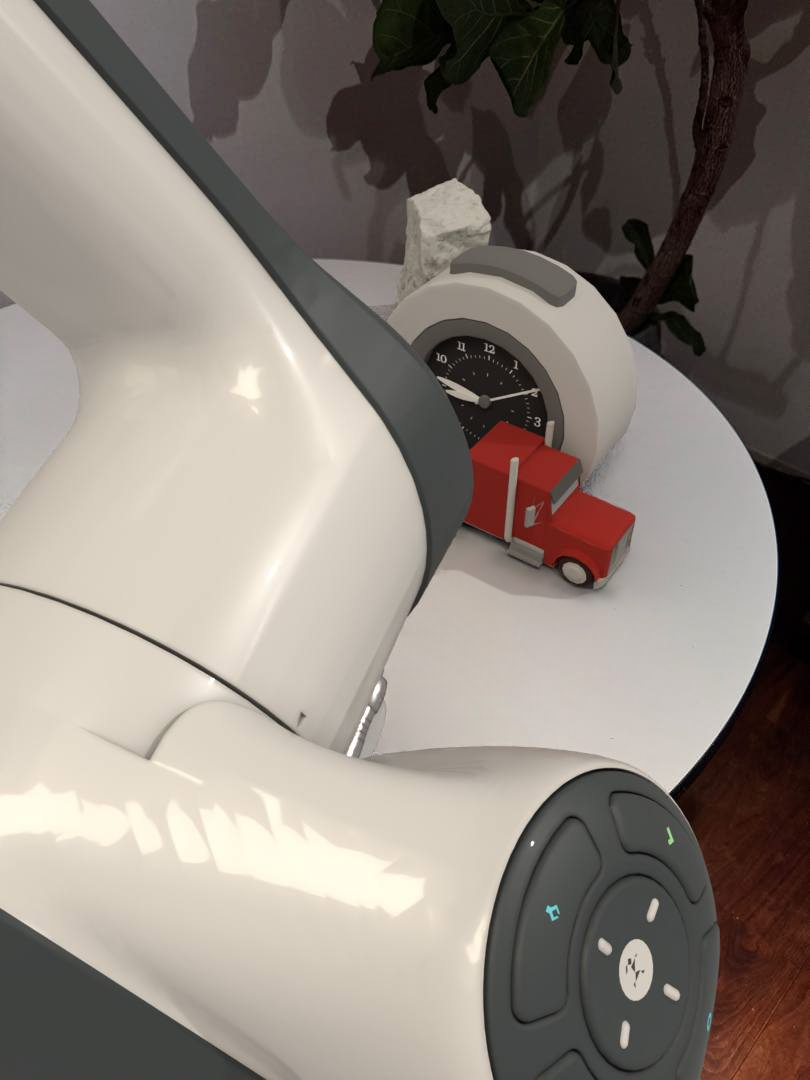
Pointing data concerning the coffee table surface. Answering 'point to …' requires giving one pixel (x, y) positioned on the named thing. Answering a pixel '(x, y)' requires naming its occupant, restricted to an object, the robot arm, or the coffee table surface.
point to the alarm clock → (525, 350)
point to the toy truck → (545, 506)
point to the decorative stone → (440, 232)
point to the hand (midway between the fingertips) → (163, 892)
